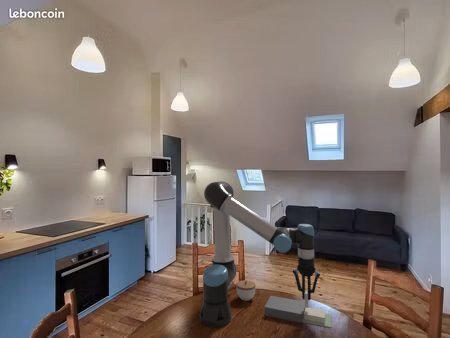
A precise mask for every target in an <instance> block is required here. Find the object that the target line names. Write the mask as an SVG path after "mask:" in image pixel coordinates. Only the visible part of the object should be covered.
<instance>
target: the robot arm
mask: <svg viewBox="0 0 450 338" xmlns="http://www.w3.org/2000/svg"><path fill="white" fill-rule="evenodd" d="M234 194H235V192H234V188H233V186H232V185H231V184H230V183H229V182H227V181H213V182H210V183H209V184H207V185H206V186H205V189H204V192H203V195H204V199H205V201H206V202H207V203H208V204H209V205H210V206H209V207H210V209H212V211H213V212H212V213H213V234H214V235H213V237H214V238H213V239H214V256H213V257H212V260H211V261H212V262H211V264H212V265H208V266H207V267H206V268H204V271H203V274H202V290H203V291H202V293H203V294H202V298H203V300H202V305H201V308H200V311H199V321H200V323H201V324H202V323H203V324H202V325H204V326H207V327H212V328H217V327H218V328H219V327H223V326H226V325H228V324H229V323H230V322H231V321H232V311H231V308H230V305H229V300H228V291H229V290H228V286H229V285H230V286H231V284H232V281H234V279H235V278H236V275H237V268H238V267H237V264H236V262H235V257H234V256H233V255H232V249H231V248H232V247H231V246H232V244H231V243H232V242H231V222H230V221H231V218H233V219H235V220H236V221H238V222H239V223H240V224H242V225H244V226H245V227H246V228H248V229H249V230H251V231H252V232H253V233H255V234H256V235H258V236H260V237H261V238H262V239H264V240H266V241H267V242H268V243H270V244H271V245H272V246H273V247H274V249H275V250H276V251H277V252H278V253H283V254H284V253H287V252H288V251H290V249H291V248H292V246H293V245H297V267H296V268H293V270H292V273H293V276H294V277H295V282H296V286H297V290H298V291H299V292H301V293H302V294H301V296H302V297H301V298H302V300H304V302H305V307H306V308H309V301H311V298H312V294H314V293H315V291H316V287H317V282H318V280H319V278H320V276H321V272H320V271H317V270H316V267H315V229H314V226H313V225H312V224H307V223H299V224H298V225H297V227H296V228H295V227H294V228H293V227H283V226H282V227H281V226H279V227H277V226H275V225H274V224H273V223H272V222H270V221H268V220H266V219H265V218H264V217H262V216H261V215H260V214H257V213H256V212H254V211H253V210H251V209H250V208H248V207H247V206H245V205H244V204H243V203H241V202H239V201H238V200H236V199H234ZM230 217H231V218H230ZM299 274H300V276H301V280H300V277H299ZM313 275H314V276H315V277H314V281H313V284H311V279H312V276H313ZM306 278H307V290H306ZM311 285H312V287H311Z"/></svg>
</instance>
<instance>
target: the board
mask: <svg viewBox="0 0 450 338" xmlns="http://www.w3.org/2000/svg"><path fill="white" fill-rule="evenodd" d="M305 308H306V307H305V300H297V299H291V298H286V297H280V296H275V295H270V296H269V297H268V300H267V302H266V303H265V305H264V316H266V317H272V318H275V319H281V320H286V321H289V322H290V321H291V322H295V323H300V324H304V322H303V320H304V312H305Z"/></svg>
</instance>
